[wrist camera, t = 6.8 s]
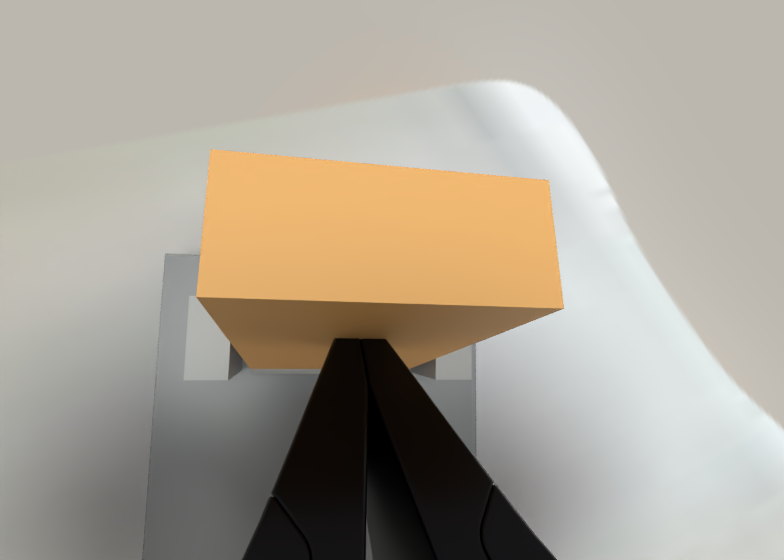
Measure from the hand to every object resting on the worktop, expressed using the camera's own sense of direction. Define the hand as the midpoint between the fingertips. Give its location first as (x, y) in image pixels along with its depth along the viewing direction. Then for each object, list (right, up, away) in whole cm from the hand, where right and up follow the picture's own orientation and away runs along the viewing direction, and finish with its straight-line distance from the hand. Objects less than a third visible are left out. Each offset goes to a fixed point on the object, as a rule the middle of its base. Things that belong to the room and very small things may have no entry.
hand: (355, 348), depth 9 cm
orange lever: (-1, 0, +5) cm, 5 cm away
